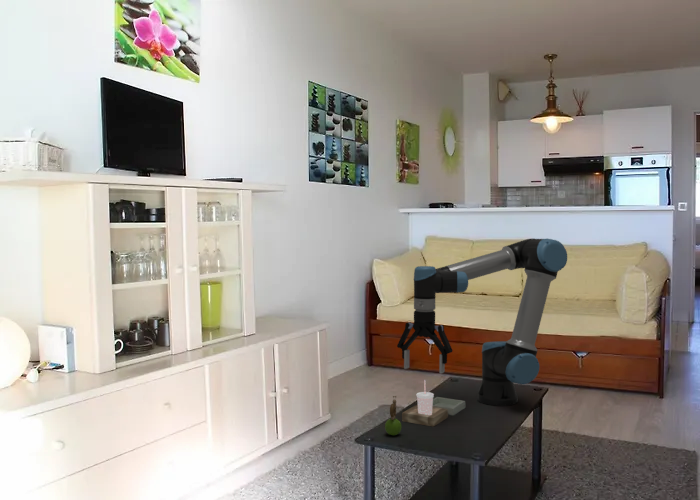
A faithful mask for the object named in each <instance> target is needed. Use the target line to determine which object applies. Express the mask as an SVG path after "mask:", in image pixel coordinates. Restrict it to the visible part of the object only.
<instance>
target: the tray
mask: <svg viewBox="0 0 700 500" xmlns="http://www.w3.org/2000/svg"><path fill="white" fill-rule="evenodd" d="M432 407H437V408H443V409H448V416H455V415H456V414H458V413H459V412H462V410H464V409H465V408H466V400H461V399H453V398H449V397H448V398H447V397H440V396H436V397H433V405H432Z"/></svg>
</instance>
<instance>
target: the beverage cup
mask: <svg viewBox="0 0 700 500" xmlns="http://www.w3.org/2000/svg"><path fill="white" fill-rule="evenodd" d="M423 381H424V382H423V385H424V387H423V388H424V389H423V391H420V392H419V391H418V392H417V393H416V394H415V396H416V397H417V398H416V400H417V404H418V413H419V414H425V415H432V405H433V399H434V398H435V396H434V395H435V393H433V392H430V391H429V392H428V391H426V390H427V389H426V388H427V387H426V384H427V383H426V382H427V381H426V379H424V380H423Z"/></svg>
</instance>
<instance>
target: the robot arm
mask: <svg viewBox="0 0 700 500" xmlns="http://www.w3.org/2000/svg"><path fill="white" fill-rule="evenodd" d="M567 262H568V252H567V249H566V247H565V246H564V244H563V243H562V242H560V241H559V240H557V239H552V238H527V239H524V240H523V239H522V240H520V241H516V242H514V243H511V244H508V245H504V246H503V247H502V249H500V250H496V251H493V252H490V253H487V254H483V255H480V256H477V257H473V258H472V257H471V258H469V259H466V260H462V261H459V262H456V263H455V262H454V263H452V264H448V265H445V266H440V267H437V268H436V267H435V266H433V265H432V266H430V265H429V266H428V265H420V266H416V267H415V268H414V270H413V309H414V311H413V323H412V322H411V321H410V322H406V323H405V326H404V330H403V332H402V335H401V337H400V339H399V341H398V343H397V345H396V347H397V348H398V349H400V350H401V357H402V359H403V369H404V370H407V369H409V368H410V353H411V352H410V349H409V347H410V346H411V345H412V344H413V342H414V341H415V340H416V339H417V338H418V337H419V338H421V337H422V338H423V337H424V338H429V339H430V340H431V341H432V342H433V343H434V345H435V346H436V348H437V349H438V351H439V352H440V354H439V366H438V367H439V374H441V375H442V374H444V373H445V371H446V369H445V368H446V367H445V366H446V365H445V364H447V363H448V354H451V353H453V348H452V346H451V344H450V341H449V339H448V337H447V334H446V331H445V326H444V325H443V324H441V325H436V311H435V310H436V296H437V295H436V294H446V293H448V294H449V293H453V294H454V293H456V294H458V293H464V292H466V291H467V290H468V286H469V281H470V280H473V279H478V278H480V277H484V276H487V275H491V274H494V273H497V272H501V271H504V270H509V271H513V270H514V271H515V270H517V269H518V270H519V269H524V270H523V271H524V273H525V274H526V280H525V283H524V288H523V293H522V295H521V299H520V304H519V307H518V310H517V313H516V314H517V315H516V319H515V323H514V326H513V330H512V334H511V337H510V339H508V340H506V341H504V340H503V341H502V340H501V341H497V340H496V341H486V342H484V343H483V344H482V347H481V355H482V356H481V366H482V367H481V368H482V369H481V372H482V373H481V374H482V375H481V379H482V380H481V383H480V386H479V389H478V392H477V401H478V402H479V403H482V404H485V405H491V406H498V407H499V406H512V405H515V404H517V403H518V401H519V399H518V397H519V396H518V394H517V391H516V386H515V384H517V385H518V384H519V385H526V384H529V383H531V382H533V381H534V380H535V379H536V378H537V377H538V374H539V371H540V361H539V359H538V358H537V354H538V348H537V347H536V342H537V337H538V333H539V330H540V325H541V321H542V318H543V314H544V309H545V304H546V302H547V298H548V294H549V289H550V285H551V282H553V281H554V280H556V279H557V276H558V272H560V271H561V270H562V269H564V268H565V266H566V265H567ZM412 329H413V330H414V331H413V333H412V334H411V336H410V337H409V338H408V336H409V334H410V333H411V330H412ZM435 331H437V333H438V335H439V337H438V335H437V333H436V332H435ZM407 338H408V339H407ZM439 338H440V339H439ZM406 340H407V341H406ZM514 383H515V384H514Z"/></svg>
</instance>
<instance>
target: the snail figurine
mask: <svg viewBox="0 0 700 500" xmlns="http://www.w3.org/2000/svg"><path fill="white" fill-rule="evenodd" d="M392 398H393V400H392V403H391V404H390V407H389V416H390V418H388V419H387V420H386V422H385V424H384V430H385V432H386V434H388V435H389V436H397V435H399V434H400V433H401V431H402V423H401V421H400V420H399V419H398V418H396V416H397V395H392Z"/></svg>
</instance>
